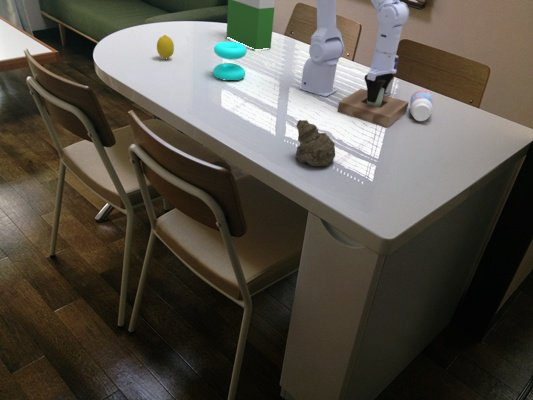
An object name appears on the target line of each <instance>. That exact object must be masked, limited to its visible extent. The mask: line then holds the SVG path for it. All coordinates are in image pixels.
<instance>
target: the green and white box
mask: <svg viewBox="0 0 533 400" xmlns="http://www.w3.org/2000/svg"><path fill="white" fill-rule="evenodd" d="M275 3H276V0H227V19H226V38H227V37H230V38H232V39H234V40H236V41H238V42H240V43H243V44H245V45H247V46H249V47H252V48H254V49H263V48H272V38H273V26H274V17H275V14H274V13H275Z"/></svg>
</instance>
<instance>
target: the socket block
mask: <svg viewBox="0 0 533 400" xmlns="http://www.w3.org/2000/svg"><path fill="white" fill-rule="evenodd" d="M367 100H368V99H367V89H364V88H360V89H358V90H356V91H354V92H353V93H351V94H349V95H348V96H345V98H342V99H341V100H339V102H338V107H337V113H340V114H343V115H346V116H350V117H353V118H356V119H359V120H362V121H365V122H369V123H372V124H375V125H379V126H382V127H385V128H388V127H390V126H391V125H392V124H394V121H395V122H396V121H397V120H398V119H400V118H401V117H402V116H403V115H404V114H406V113H407V110H408V106H409V104H410V101H406V100H403V99H399V98H395V97H392V96H390V95H388V96H386V95H384V96H383V98H382V103H381V107H376V106H373V105H370V104H367ZM405 112H406V113H405ZM400 116H401V117H400Z"/></svg>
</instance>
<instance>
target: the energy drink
mask: <svg viewBox="0 0 533 400" xmlns="http://www.w3.org/2000/svg"><path fill="white" fill-rule="evenodd" d="M394 62H395V65H394V69H396V70H397V68H398V63H399V55H397V54H396V57H395V61H394ZM394 79H395V77H394V78H393V79H392V80H391V82H390V83H389V85H388V87H387V89H386V91H385V94H384V95H386V96H390V95H391V92H392V89H393V86H394V85H393V84H394Z"/></svg>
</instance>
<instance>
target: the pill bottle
mask: <svg viewBox="0 0 533 400" xmlns="http://www.w3.org/2000/svg"><path fill="white" fill-rule="evenodd" d="M409 105H410V107H409V111H410V112H409V113H410V115H411V116H412V117H413V118H414V119H415V120H416V121H417V122H424V121H427V120H428V119H429V117H430V116H431V115H432V112H433V97H432V95H431V93H430V92H429V91H427V90H425V89H420V90H416V91H415V92H414V93H412V95H411V96H410V101H409Z"/></svg>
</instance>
